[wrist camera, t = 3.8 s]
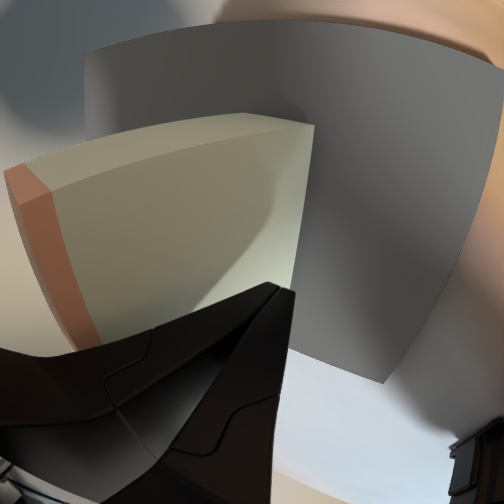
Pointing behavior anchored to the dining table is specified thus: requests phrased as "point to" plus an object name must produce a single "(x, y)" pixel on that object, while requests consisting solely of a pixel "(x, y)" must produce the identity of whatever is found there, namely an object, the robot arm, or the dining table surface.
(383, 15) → the dining table surface
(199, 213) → the slab
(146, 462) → the robot arm
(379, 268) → the mat
